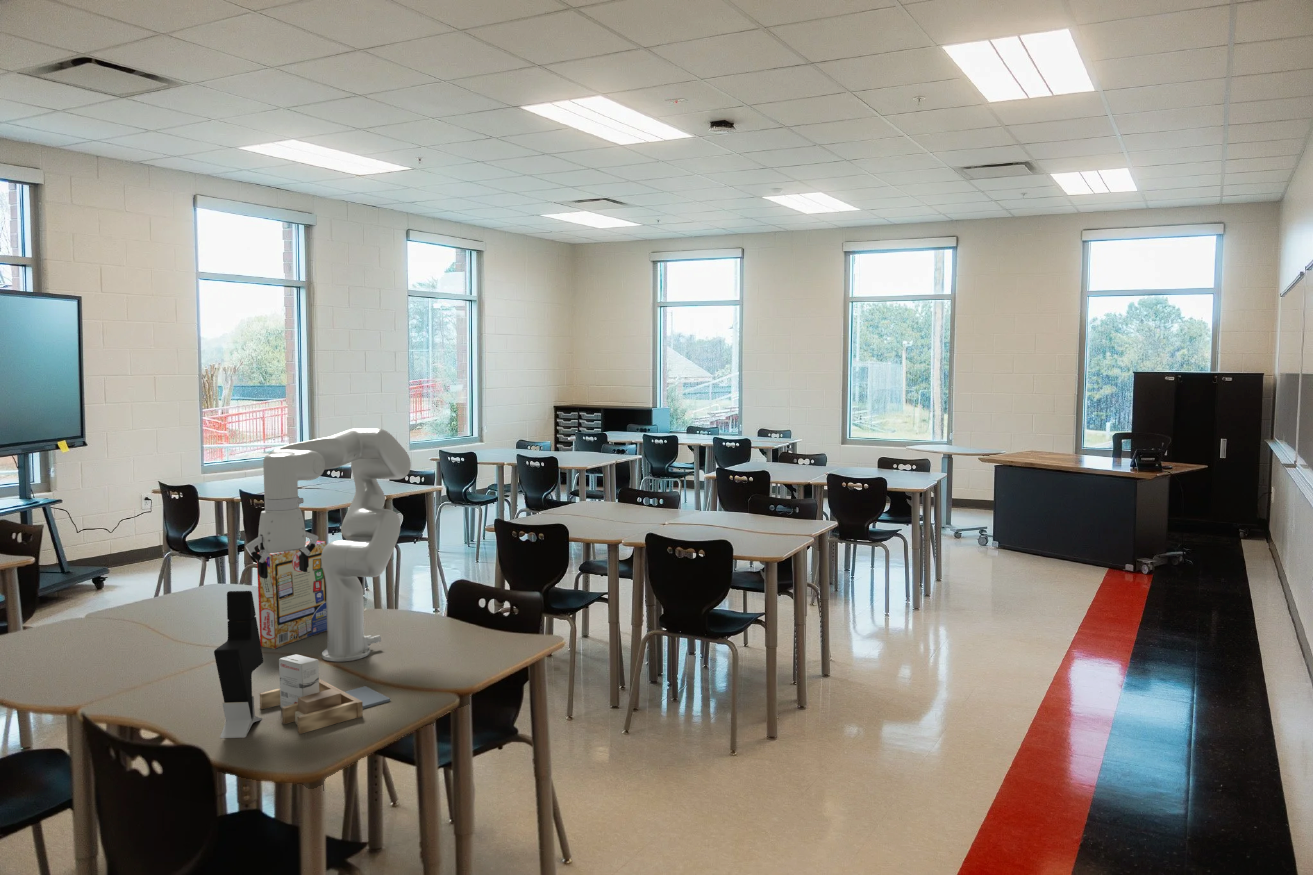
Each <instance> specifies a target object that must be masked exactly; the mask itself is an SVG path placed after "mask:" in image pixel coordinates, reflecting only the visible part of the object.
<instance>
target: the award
mask: <svg viewBox="0 0 1313 875" xmlns="http://www.w3.org/2000/svg"><path fill="white" fill-rule="evenodd" d="M254 602H255V601H254V596H253V591H251V590H229V591H227V592H226V608H227V609H226V613H227V614H226V616H227V618H226V619H227V640H226V641H225V642H224V643H222V644H221V645H220V646H218V647H217V648H215V649H214V651H213V655H214V660H215V664H216V670H217V674H218V678H219V683H220V688H221V692H222V697H223V698H222V699H223V702H221V703H222V704H221V705H222V708H223V713H224V718H225V722H224V725H223V728H222V730H221V733H220V735H219V739H235V738H236V739H237V738H241V739H242V738H246V737H247V736H248V733H249V731H250V729H251V727H252V725H253V724H254V723H255V722H259V721H262V720H263V718H262V717H259V716H256V714H255V696H253V684H252V683H253V682H252V677H253V676H252V675H253V672H254V671H255V670H257V669H258V668H259V667H260V666H261V665H262V664H263V663H264V656H263V650H262V646H261V643H260V630H259V627H258V621H257V617H256V616H257V614H256V608H255V603H254Z"/></svg>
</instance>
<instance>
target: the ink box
mask: <svg viewBox="0 0 1313 875" xmlns="http://www.w3.org/2000/svg"><path fill="white" fill-rule="evenodd" d="M319 668H320V667H319V659H317V658H313V657H309V656H305V655H300V654H292V655H288V656H284V657H280V658H279V659H278V669H279V670H278V672H279V673H278V674H279V688H280V703H281V705H280V708H281V709H282V707H284V706H288V705H292V704H296V703H298V698H299V697H303V696H307V695H310V694H314V693H318V692H319V679H320V676H319V674H320V673H319V671H320V670H319Z"/></svg>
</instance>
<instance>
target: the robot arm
mask: <svg viewBox="0 0 1313 875" xmlns="http://www.w3.org/2000/svg"><path fill="white" fill-rule="evenodd" d="M349 463H350V466H351V472H352V476H353V479H354V487H355V492H354V497H353V499H352V501H351V502H350V505H349V506H348V507H349V508H348V510H347V512H346V514H345V517H344V518H343V520H342V524H341V529H340V532H341V533H340V534H341V535H342V537H343V538H344V539H345V540H344V539H342V540H341V539H338V540H334V541H333V540H332V541H331V542H328V543H326V546H325V547H324V549H323V551H322V555H321V562H322V567H323V571H324V576H325V582H326V605H327V631H326V635H327V636H326V637H327V638H326V639H327V642H326V643H327V648H325V649H324V650H323V651H322V652H321V658H322V659H323V660H325V661H327V662H342V663H343V662H351V661H355V660H356V661H357V660H360V659H364V658H366V657H367V656H369V655H370V654H371V647H370V646H371V644H377V643H380V642H382V637H381V635H380V634H378V635H374V636H373V635H370V634H369V635H365V622H364V621H365V620H364V619H365V618H364V616H365V615H364V614H365V613H364V589H363V586H362V583H361V581H360V580H359V578H358V577H361V578H377V577H379V576H381V575H382V574H383V572H384V571H385V570H386V568H387V566H388V564H389V561H390V559H391V557H392V554H393V552H394V549H395V547H396V544H397V542H398V539H399V537H400V533H401V518H400V516H399V514H398V513H397V512H395V511H394V510H392V509H388V508H384V505H385V504H386V495H385V493H384V491H383V489H382V487H381V486H380V484H379V482H378V480H401V479H404V478H406V477H407V476H408V475H409V474H410V471H411V466H412V465H411V464H412V461H411V458H410V456H409V453H408V452H407V451H406V449H405V448H404V447H403V446H402V445H401V444H400V442H399V441H398V440H397V439H396V438H395V436H393V434H391V433H390V432H388V431H387V430H385V429H383V428H368V427H367V428H366V427H363V428H362V427H361V428H360V427H358V428H356V427H355V428H350V429H346V430H344V431H340V432H338V433H335V434H332V435H329V436H326V437H321V438H315V439H311V440H305V441H300V442H294V443H289V444H286V445H283V446H279V447H277V448H275V449H273V450H272V451H270V452H269V453H268V454H267V455H266V456H264V457H263V469H262V470H263V492H264V493H263V494H264V496H263V497H264V510H262V511H261V512H260V516H259V522H258V524H259V525H258V535H257V537H256V538H254V539H253V540H251V541H250V542H248V543H247V544H245V546H244V547H245V548H246V551H247V552H248V553H249V556H250V557H251V558H253V559H254V560H255V561H256V562H257V561H258V574H259V575H260V577H261V578H264V579H267V578H268V567H267V562H265V560H266V559H267V557H268V556H269V554H270V553H279V552H286V551H292V550H299V551H300V552H301V554H299V570H300V571H303V572H307V568H308V567H309V559H308V556H309V555H310V552H311V551H312V550H313V549H314V548H315V544H316V543H317V541H319V538H320V537H319V536H318V535H316V534H314V533H311V532H308V531H307V530H306V529H305V527H306V526H305V521H304V516H303V513H302V509H301V508H300V504H304V502H305V501H304V498H303V497H300V496H299V491H298V490H299V488H298V486H299V485H298V482H299V481H306V482H308V481H313V480H316V479H318V478H319V477H321V476H322V475H323V473H324V471H325V470H330V469H337V468H340V467H342V466H345V465H347V464H349ZM377 479H378V480H377ZM306 538H308V539H309V541H310V543H309V544H308V545H307V546H306V547H305V545H306V542H307V539H306ZM257 546H258V547H257ZM256 547H257V548H258V549H259V552H257V551H256V549H255V548H256ZM258 553H259V554H258Z"/></svg>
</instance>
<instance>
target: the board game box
mask: <svg viewBox="0 0 1313 875" xmlns="http://www.w3.org/2000/svg"><path fill="white" fill-rule="evenodd" d="M309 543H310V540H308V541H307V540H306V545H305V547H306V546H307V545H308V544H309ZM326 545H327V541H324V540H323V541H322V540H317V543H316V544H315V548H314V549H313V550H312V551H311V552H310V555H309V556H308V559H309V567H308V568H307V572H303V571H300V570H299V554H301V552H300V551H299V550H292V551H286V552H279V553H270V554H269V556H268V557H267V559H266V560H265V562H267V567H268V578H267V579H264V578H261V577H260V575H259V574H258V561H256V569H257V570H256V571H257V572H256V573H257V593H258V595H257V596H258V620H259V637H260V643H261V648H262V647H264V648H269V649H273V650H276V649H277V648H281V647H284V646H286V645H288V644H292V643H294V642H298V641H300V640H305V638H309V637H311V636H314V635H315V636H316V635H317V634H320V633H323V632H327V605H326V582H325V576H324V571H323V567H322V562H321V555H322V551H323V549H324V547H325V546H326ZM257 553H258V554H259V552H257Z"/></svg>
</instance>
